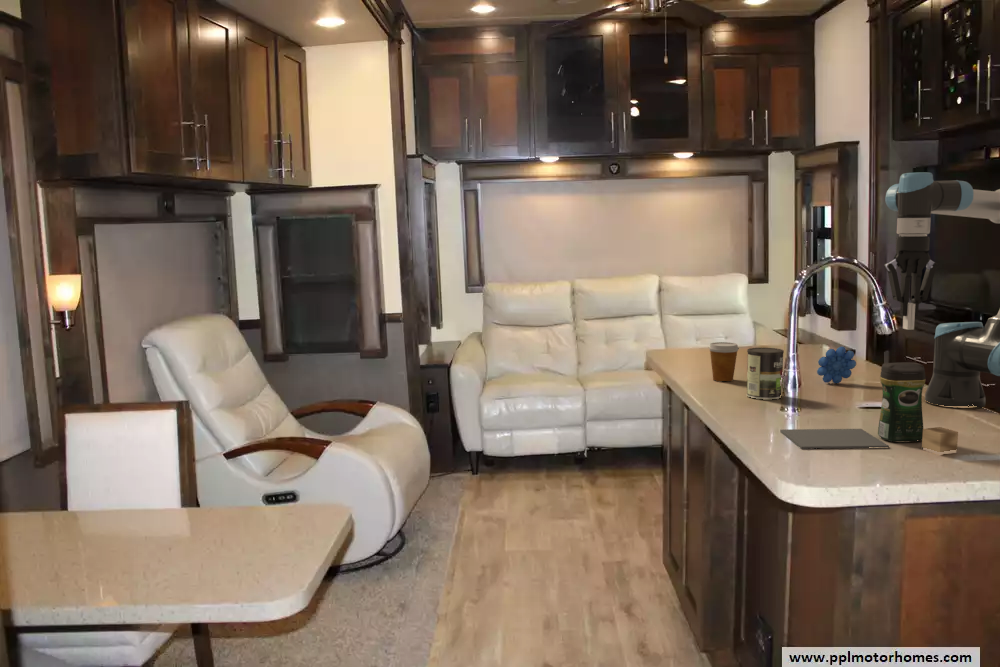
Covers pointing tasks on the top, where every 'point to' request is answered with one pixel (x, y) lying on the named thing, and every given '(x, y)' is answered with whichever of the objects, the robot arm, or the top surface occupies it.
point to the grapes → (836, 365)
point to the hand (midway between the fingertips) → (908, 328)
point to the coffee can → (764, 373)
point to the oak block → (939, 439)
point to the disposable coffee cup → (723, 360)
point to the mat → (832, 438)
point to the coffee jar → (901, 401)
